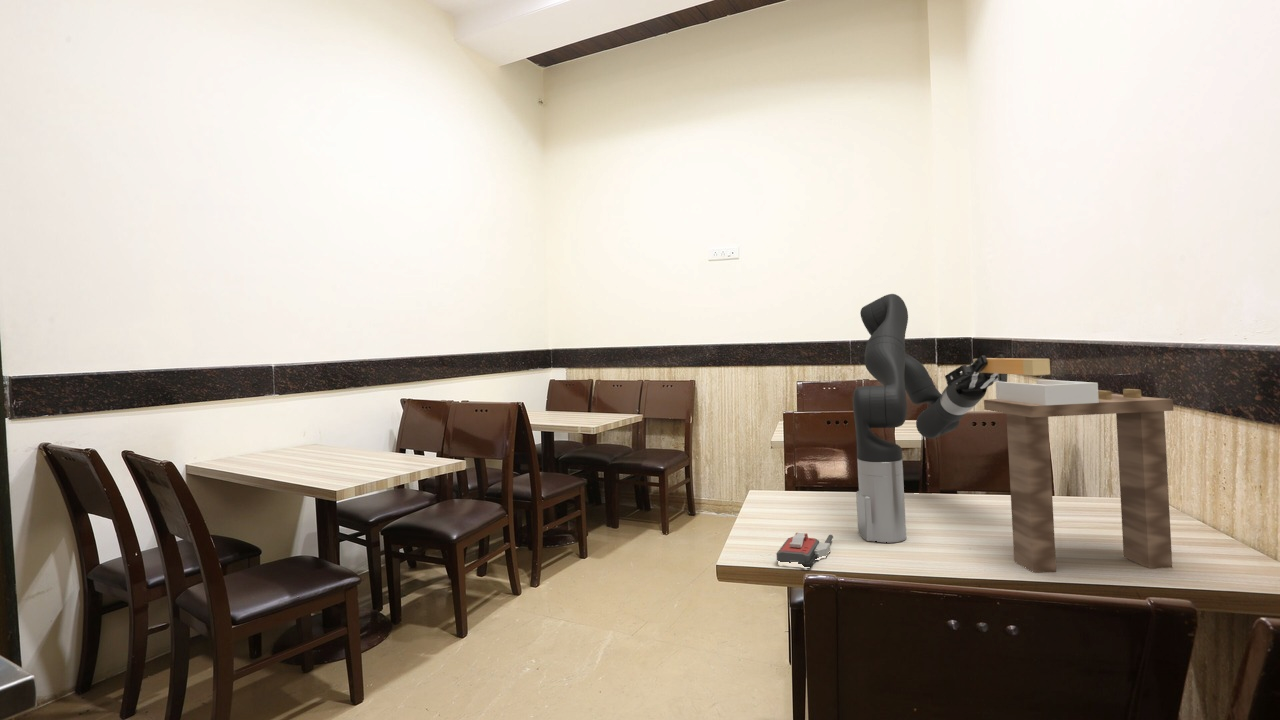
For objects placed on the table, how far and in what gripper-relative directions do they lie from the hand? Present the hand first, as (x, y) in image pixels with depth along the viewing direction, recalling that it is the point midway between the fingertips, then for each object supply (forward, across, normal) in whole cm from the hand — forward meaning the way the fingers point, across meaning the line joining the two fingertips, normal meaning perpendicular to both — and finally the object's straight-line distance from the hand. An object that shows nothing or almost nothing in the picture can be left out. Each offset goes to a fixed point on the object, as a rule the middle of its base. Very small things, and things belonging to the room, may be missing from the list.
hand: (993, 358), depth 131 cm
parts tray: (+11, 0, +15) cm, 19 cm away
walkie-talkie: (-12, -44, +37) cm, 59 cm away
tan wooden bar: (+3, 0, +5) cm, 6 cm away
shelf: (-4, +5, +41) cm, 42 cm away
